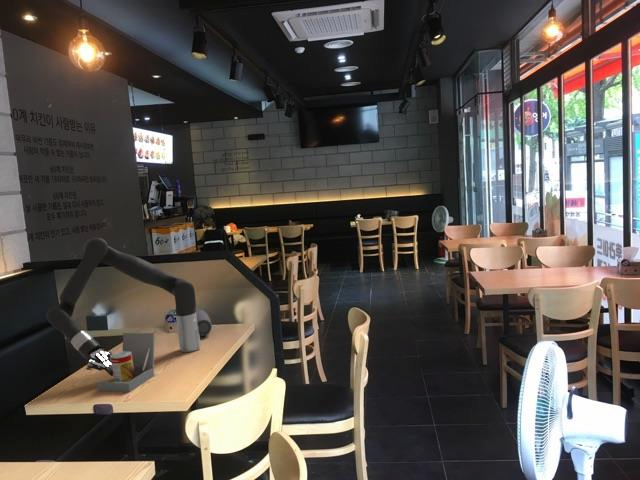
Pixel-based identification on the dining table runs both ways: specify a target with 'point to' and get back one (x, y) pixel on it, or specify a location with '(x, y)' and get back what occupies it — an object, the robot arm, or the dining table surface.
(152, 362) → the case
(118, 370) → the canned food
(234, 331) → the dining table surface
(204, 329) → the bluetooth speaker
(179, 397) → the dining table surface
